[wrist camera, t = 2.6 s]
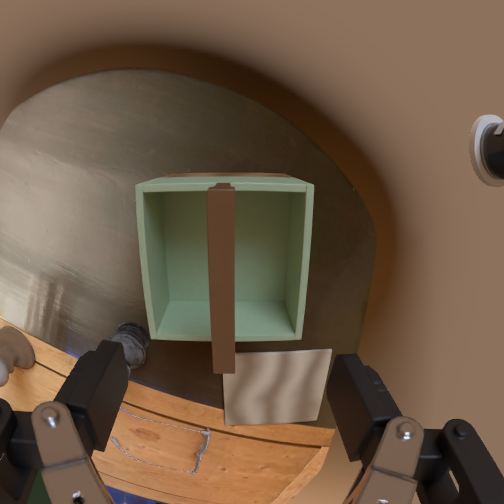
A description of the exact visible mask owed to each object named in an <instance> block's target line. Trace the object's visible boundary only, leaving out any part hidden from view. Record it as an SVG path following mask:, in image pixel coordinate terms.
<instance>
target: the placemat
mask: <svg viewBox="0 0 504 504" xmlns="http://www.w3.org/2000/svg"><path fill="white" fill-rule="evenodd" d="M331 353H332V349H319V350H303V351H283V352H246V353H235V374H223V390H224V408H225V425H257V424H278V423H292V422H303V421H313V420H317V417H318V413H319V409H320V405H321V401H322V396H323V392H324V387H325V383H326V378H327V373H328V368H329V363H330V358H331Z"/></svg>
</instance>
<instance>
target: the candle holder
mask: <svg viewBox="0 0 504 504" xmlns="http://www.w3.org/2000/svg"><path fill="white" fill-rule="evenodd" d="M34 361H35V355H34V351H33V349H32V347H31V345H30V343H29V341H28V340H27V339H26V338H25V336H24V335H23V334H22V333H21V332H19V331H18V330H16V329H15V328H13V327H9V326H6V327H3V328H2V329H1V330H0V387H2V386H4V385H5V384H6V383H7V382H8V379H9V374H10V373H13V371H14V366H16V367H19V368H23V369H28V368H30V367H31V366H32V365H33V364H34Z"/></svg>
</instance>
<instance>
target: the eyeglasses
mask: <svg viewBox="0 0 504 504" xmlns="http://www.w3.org/2000/svg"><path fill="white" fill-rule="evenodd" d="M120 409H121V410H123V411H124V412H126V413H127V414H129V415H131V416H134V417H136V418H139V419H143V420H148V421H152V420H149V419H145V418H140V417H137V416H135V415H132V414H131V413H129V412H127V411H126V410H125V409H124V408H122V407H121V406H120ZM154 422H157V421H154ZM158 423H161V422H158ZM162 424H165V423H162ZM166 425H169V424H166ZM171 426H174V425H171ZM175 427H178V426H175ZM179 428H182V427H179ZM183 429H186V428H183ZM188 430H191V429H188ZM192 431H195V430H192ZM196 432H200V431H196ZM201 433H202V434H204V438H203V444H202V452H201V451H200V450H201V445H200V450H199V451H198V452H197V456H196V460H195V468H194V471H184V472H187V473H190V474H195V473H196V472H197V471H198V469H199V466H200V462H201V457H203V453H205V451H206V449H207V447H208V444H209V439H210V431H209V428H207V429H206V431H201ZM111 440H112V441H113V443H114V444H115V445H116V446H117V447H118V448H119V449H120V450H121V451H123V452H124V453H125V454H126V455H128V456H130V455H129V454H127V453H126V452H125V451H124V450H123V449H122V448H121V447H120V446H119V443H118V441H117V440H116V439H115V438H113V437H111ZM130 457H131V458H133V459H135V460H138V459H136V458H134V457H132V456H130ZM138 461H141V460H138ZM141 462H144V461H141ZM144 463H146V462H144ZM148 464H150V463H148ZM151 465H154V464H151ZM155 466H158V465H155ZM160 467H162V466H160ZM164 468H166V467H164ZM168 469H171V468H168ZM173 470H176V469H173ZM179 471H182V470H179Z"/></svg>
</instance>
